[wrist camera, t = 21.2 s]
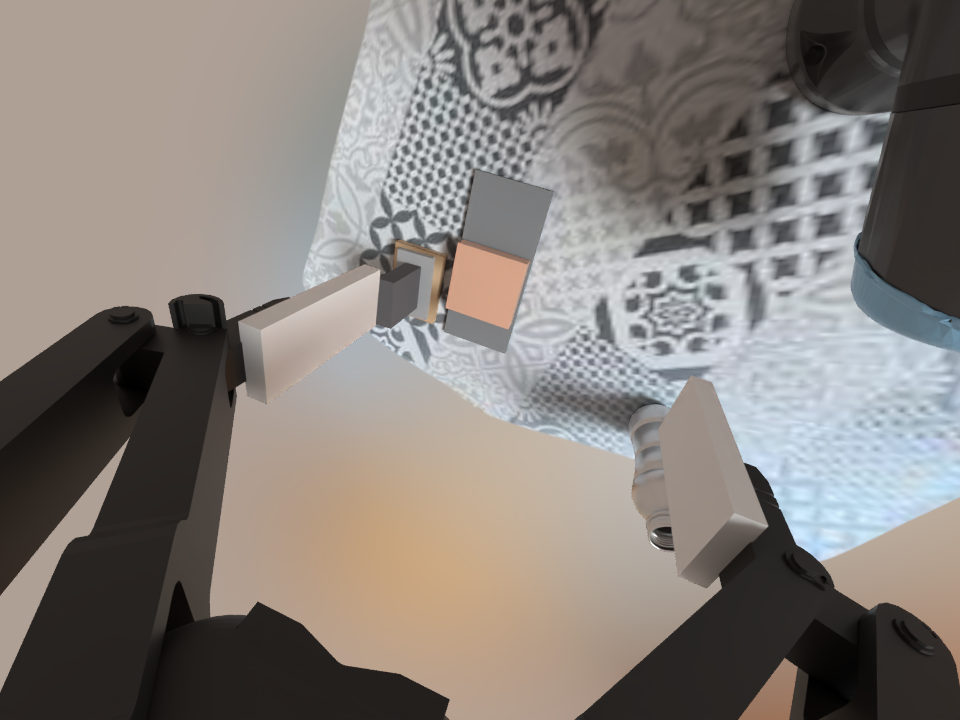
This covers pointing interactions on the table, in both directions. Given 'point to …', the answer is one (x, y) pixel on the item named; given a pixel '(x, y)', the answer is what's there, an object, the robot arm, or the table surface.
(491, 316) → the tile
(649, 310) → the table surface
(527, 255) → the mat
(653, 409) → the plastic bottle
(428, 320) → the board
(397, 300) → the grout float
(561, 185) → the table surface
